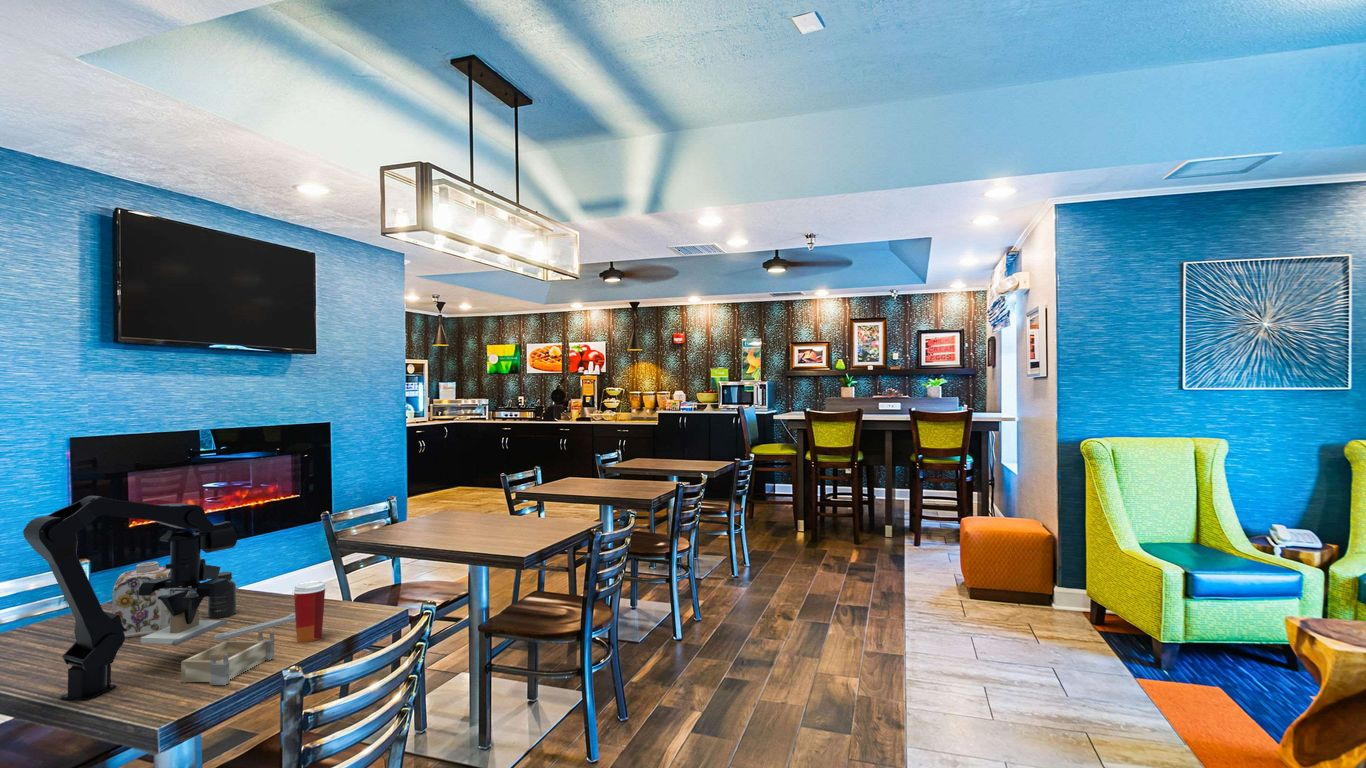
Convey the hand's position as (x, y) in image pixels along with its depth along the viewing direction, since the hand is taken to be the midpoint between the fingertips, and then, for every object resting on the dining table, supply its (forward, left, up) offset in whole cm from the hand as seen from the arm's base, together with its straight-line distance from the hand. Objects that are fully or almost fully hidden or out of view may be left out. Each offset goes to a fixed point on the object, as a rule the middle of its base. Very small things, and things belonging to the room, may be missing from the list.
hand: (184, 623), depth 157 cm
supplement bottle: (+34, +18, -9) cm, 40 cm away
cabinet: (-4, -14, -9) cm, 17 cm away
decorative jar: (+21, +29, -9) cm, 37 cm away
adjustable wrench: (+26, -2, -10) cm, 28 cm away
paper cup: (+17, -20, -9) cm, 28 cm away
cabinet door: (0, 0, -2) cm, 3 cm away
